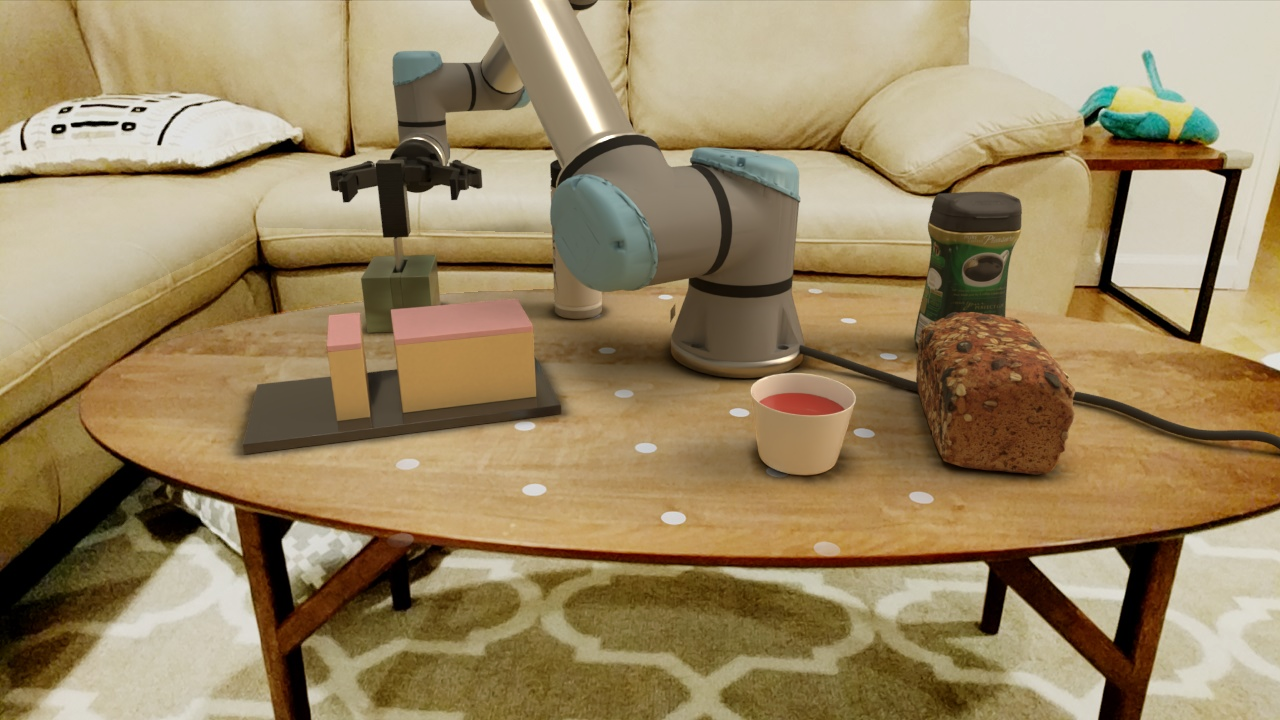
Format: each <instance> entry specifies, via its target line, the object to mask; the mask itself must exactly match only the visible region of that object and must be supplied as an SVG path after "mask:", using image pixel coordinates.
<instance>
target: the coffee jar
mask: <svg viewBox="0 0 1280 720" xmlns="http://www.w3.org/2000/svg"><path fill="white" fill-rule="evenodd" d="M1022 208H1023V207H1022V203H1021V200H1020V198H1018V197H1017V196H1014V195H1012V194H1009V193H1006V192H1003V191H963V192H960V191H959V192H944V193H937V194H936V195H935V197H934V199H933V201H932V205H931V211H930V214H929V218H928V222H927V231H928V235H929V238H930V244H931V246H930V256H929V257H930V258H929V265H928V270H927V275H926V280H925V284H924V289H923V292H922V298H921V301H920V306H919V310H918V314H917V317H916V318H917V319H916V324H915V327H914V328H915V329H914V335H913V337H914V341H915V344H916V345H917V346H918V342H919V338H920V334H921V331H922V329H923V328H924V327H925V326H927V325H929V323H931V322H935V321H937V320H940V319H942V318H945V317H946V316H947V315H948V314H950V313H953V312H957V313H962V312H966V313H969V312H974V313H981V314H993V315H998V316H1002V317H1006V307H1007V305H1006V304H1007V292H1008V291H1007V290H1008V279H1009V267H1010V263H1011V257H1012V252H1013V251H1014V247H1015V246H1016V244H1017V242H1018V240H1019V238H1020V235H1021V232H1022V215H1023V209H1022Z"/></svg>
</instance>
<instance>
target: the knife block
mask: <svg viewBox="0 0 1280 720" xmlns="http://www.w3.org/2000/svg"><path fill="white" fill-rule="evenodd" d="M437 260H438V259H437V254H414V255H413V254H411V255H408V254H407V255H404V265H405V268H404V270H403V272H402V273H397V271H396V261H395V255H379V256H378V255H377V256H376V255H375V256H373V257H372V259H371V260H370V263H368V266H367V268H366V269H365V270H364V272H363V274H362V276H361V278H360V282H361V289H362V290H361V291H362V299H363V306H364V314H365V322H366V323H365V324H366V332H367V333H368V334H370V333H371V334H373V333H393V327H392V318H391V310H392V309H404V308H415V307H426V306H437V305H441V296H440V283H439V273H438V272H439V271H438V261H437Z"/></svg>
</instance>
